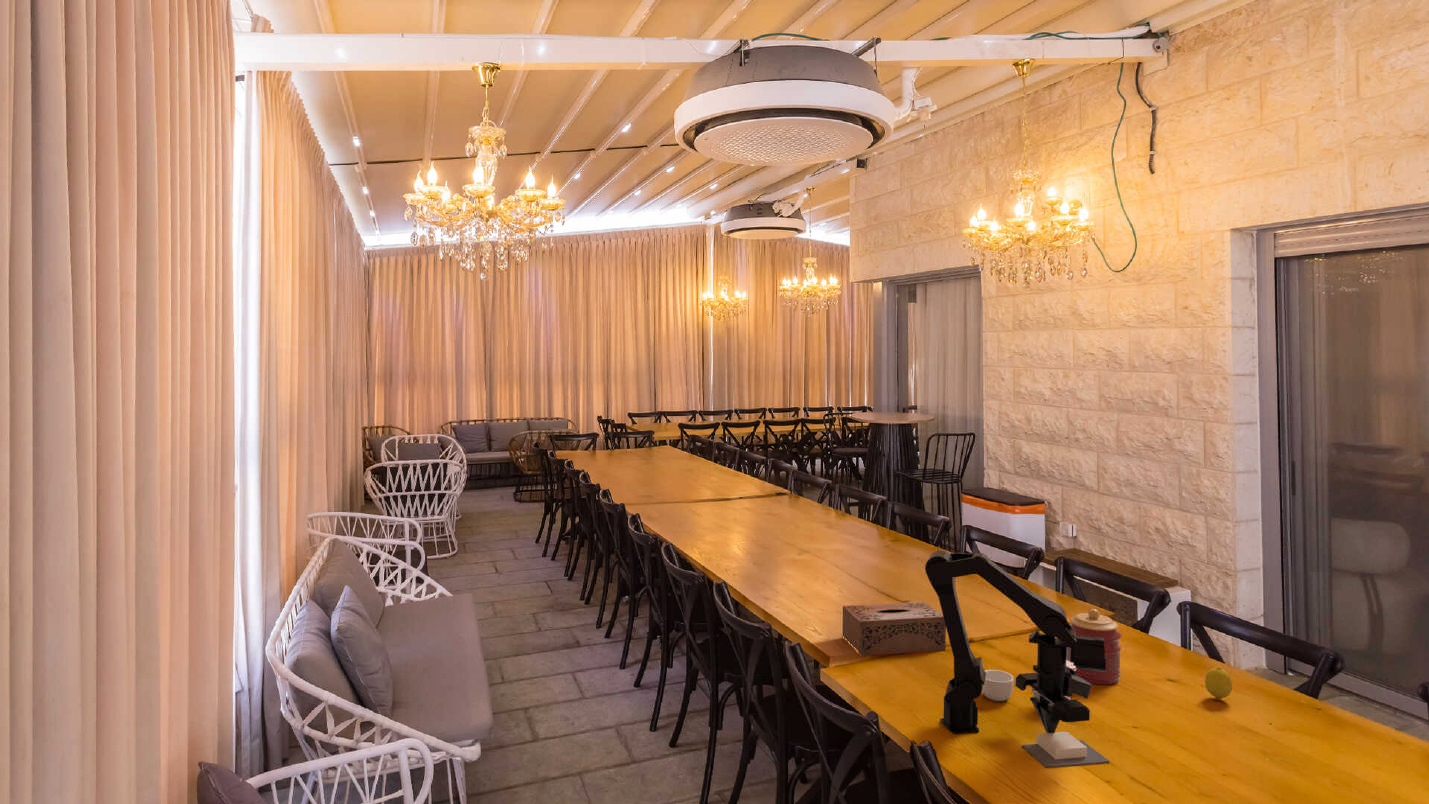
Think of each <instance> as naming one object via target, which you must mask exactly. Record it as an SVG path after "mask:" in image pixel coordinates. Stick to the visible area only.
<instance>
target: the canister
mask: <svg viewBox="0 0 1429 804" xmlns="http://www.w3.org/2000/svg"><path fill="white" fill-rule="evenodd" d="M1069 621H1070V623H1069V624H1070V626H1071V627H1072V628H1073V629H1074V631H1075V634H1076V636H1084V637H1101V638H1103V639H1104V648H1105V657H1106V670H1105V672H1102V671H1094V670H1087V669H1079V668H1076V671H1075V675H1077V676H1078V677H1080V678H1082V679H1084V680H1085V681H1087V682H1089V683H1090V684H1092V685H1113V684H1116V683H1118V682H1119V681H1120V678H1121V668H1120V667H1121V650H1122V647H1121V645H1120V639H1121V638H1122V633H1121V632H1120V631H1119V630H1118V627H1119V625H1118V623H1117V622H1116V621H1114V620H1113V619H1112V618H1110V617H1109V616H1107V615H1103V614H1100V612H1099V610H1098V609H1095V608H1091V609H1090V610H1089V611H1088V612H1080V613H1077V614H1076V615H1073V616H1072V617H1070V618H1069ZM1066 660H1068V661H1070V648H1069V647H1067V654H1066Z"/></svg>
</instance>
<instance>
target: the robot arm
mask: <svg viewBox="0 0 1429 804" xmlns="http://www.w3.org/2000/svg"><path fill="white" fill-rule="evenodd" d="M924 569H925V574H926V577H927V578H928V581H929V583H930V585H931V587H932V588H933V590H934V592H935V593H936V595H937V597H938V600H939V605H940V609H941V614H943V617H944V621H945V625H946V634H947V637H948V640H949V645H950V648H951V651H952V656H953V678H952V679H950V680H949V681H948V683H947V687H946V690H945V695H944V697H943V717H942V718H939V720H940V723H942V725H943V726H944V727H946V729H947V730H948V731H949V732H950V733H951V734H962V733H963V734H964V733H966V734H967V733H976V732H977V733H978V732H980V728H979V727H978V722H979V719H978V718H979V716H978V715H979V708H978V706H977V701H976V699H978V698H979V697H980V696H981V695H982V694H983V692H982V688H983V685H984V684H985V678H986V672H985V669H984V666H983V658H982V656H979V657H976V656H975V655H974V653H973V652H972V649H971V645H970V641H969V637H968V633H967V629H966V625H965V622H964V617H963V615H962V614H963V613H962V611H961V610H962V609H961V606H960V602H959V599H958V598H959V597H958V594H957V589H956V587H957V586H956V584H957V583H956V578H959V577H965V576H971V575H978V576H980V577H981V579H984V580H985V581H986V582H987V583H989V584H990V585H991V587H994V588H995V589H996V590H997V591H998V592H1000V593H1001V594H1003V595H1004V596H1005V597H1006V598H1008V599H1009V600H1010V601H1011V602H1013V603H1014V604H1016V605H1017V606H1018V607H1019V608H1021V609H1022V610H1023V612H1025V613H1026V615H1027V616H1028V618H1029V619H1030V620H1031V621H1032V623H1034V625H1035V626H1036V627H1037V628H1038V629H1035V630H1034V631H1033V632H1031V633H1030V634H1028V643H1030V644H1037V655H1036V656H1037V657H1036V658H1037V663H1036V664H1035V665H1034V664H1033V665H1032V670H1033V671H1034V672H1030V673H1029V672H1027V673H1019V674H1018V675H1017V676H1016V677H1015V687H1016V688H1018V689H1019V690H1020V691H1025V690H1026V689H1027V687H1028V686H1030V687H1031V688H1032V689H1031V691H1032V692H1033V693H1032V694H1033V696H1031V697H1029V700H1030V702H1031V703H1032V705H1033V707H1034V709H1035V711H1036V713H1037V715H1038V717H1039V719H1040V722H1041V724H1042V726H1043V729H1044V730H1045V733H1055V732H1056V730H1057V727H1058V725H1059V723H1060V721H1061V722H1062V723H1075V722H1076V723H1077V722H1088V721H1090V720H1091V710H1090V709H1089V707H1087V706H1086V705H1085V704H1083V703H1082V702H1081V701H1079V700H1078V699H1070V700H1069V699H1067V698H1066V697H1064V696H1067V697H1071V698H1072V697H1074V696H1073V695H1076V696H1079V697H1082V698H1083V699H1086V700H1088V699H1089V696H1090V693H1091V691H1092V687H1093V683H1089V682H1087V681H1085V680H1084V679H1082V678H1080V677H1078V676H1077V675H1075V671H1074V670H1073V669H1071V668H1069V667H1066V654H1067V647H1069V648H1070V662H1072V663H1073V665H1074V666H1075V667H1076V668H1079V669H1087V670H1094V671H1102V672H1105V670H1106V657H1105V648H1104V639H1103V638H1101V637H1084V636H1076V634H1075V631H1074V629H1073V628H1072V627H1071V626H1070V624H1071V623H1069V622H1068V617H1067V612H1066V610H1065V609H1064V607H1062V606H1061V605H1060V604H1058V603H1056V602H1054V601H1053V600H1051V599H1049V598H1047V597H1044V596H1043V595H1040V594H1037V593H1035V592H1034V591H1031V590H1030V589H1029V588H1028V587H1026V586H1025V585H1023V584H1022V583H1021V582H1020V581H1018V579H1016V578H1015V577H1014V576H1012V575H1011V574H1010V573H1008V572H1007V571H1005V570H1004V569H1002V567H1000V566H999V565H997V564H996V563H995V562H994V561H992V560H991V559H990V558H989V557H988V556H987V555H986V554H984V553H983V552H975V553H970V552H969V553H966V552H952V553H949V552H947V551H945V550H936V551H934V552H932V553H931V554H930V556H929V557H928V559H927V561H926V563H925V566H924Z"/></svg>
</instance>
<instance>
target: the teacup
mask: <svg viewBox="0 0 1429 804" xmlns="http://www.w3.org/2000/svg"><path fill="white" fill-rule="evenodd" d="M984 671H985V672H986V678H985V684H984V685H983V688H982V694H983V696H985V697H986V698H987V699H989V700H991V701H995V702H1005V701H1006V700H1009V698H1011V696H1012V694H1013V691H1014V683H1015V678H1014V676H1013V675H1012V674H1010V673H1009V672H1006V671H1004V670H998V669H984Z"/></svg>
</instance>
